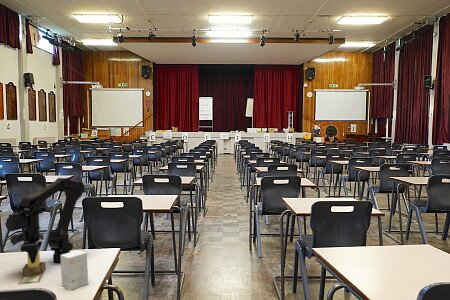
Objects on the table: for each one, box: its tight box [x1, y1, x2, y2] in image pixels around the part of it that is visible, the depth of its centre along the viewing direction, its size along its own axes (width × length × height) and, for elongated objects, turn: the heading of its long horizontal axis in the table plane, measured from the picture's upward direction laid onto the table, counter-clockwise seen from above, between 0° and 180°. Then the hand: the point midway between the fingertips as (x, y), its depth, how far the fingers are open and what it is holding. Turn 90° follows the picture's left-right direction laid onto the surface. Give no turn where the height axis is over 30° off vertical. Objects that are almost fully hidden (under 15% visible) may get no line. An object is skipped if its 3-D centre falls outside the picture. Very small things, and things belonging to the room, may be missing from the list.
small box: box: [60, 249, 89, 291], centre depth 163 cm, size 8×6×13 cm
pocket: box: [22, 261, 47, 277], centre depth 177 cm, size 8×8×3 cm
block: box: [26, 250, 41, 268], centre depth 176 cm, size 4×4×9 cm
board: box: [17, 272, 45, 286], centre depth 172 cm, size 8×17×1 cm, turn 15°
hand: (33, 261), depth 176 cm, fingers closed on block, 4 cm apart
